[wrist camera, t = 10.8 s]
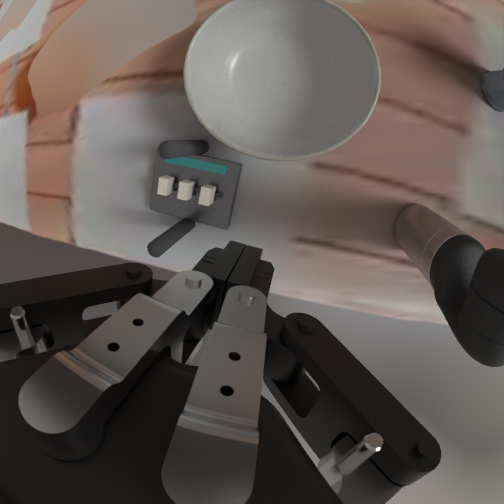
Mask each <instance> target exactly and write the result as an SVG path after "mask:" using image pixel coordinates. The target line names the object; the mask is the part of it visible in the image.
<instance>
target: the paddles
mask: <svg viewBox="0 0 504 504" xmlns="http://www.w3.org/2000/svg"><path fill="white" fill-rule="evenodd" d="M173 183H174V177H171V176H162V177H159V183H158V191H157V194H160V195H164V196H167V195H169V194H171V193H172V190H173ZM193 188H194V181H189V180H183V181H180V182H179V189H178V195H177V199H181V200H185V201H187V200H189V199H191V198H192V194H193ZM215 189H216V186H212V185H207V184H206V185H204V186H201V191H200V197H199V203H198V204H201V205H205V206H209V205H211V204H212V203H213V200H214V195H215Z"/></svg>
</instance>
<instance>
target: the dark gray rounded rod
mask: <svg viewBox="0 0 504 504" xmlns="http://www.w3.org/2000/svg"><path fill="white" fill-rule="evenodd" d="M208 149H209V145H208V143H207V142H206V141H205V140H172V141H164V142H162V143H161V144H160V146H159V149H158V152H159V155H160V156H161V157H162V158H163V159H172V158H178V157H185V156H191V155H198V154H204V153H206V152H207V151H208Z"/></svg>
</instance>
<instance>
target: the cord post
mask: <svg viewBox="0 0 504 504" xmlns="http://www.w3.org/2000/svg"><path fill="white" fill-rule="evenodd" d="M194 227H195V221H192V220H189V219H185V218H184V219H183V220H181V221H180V222H178V223H177V224H175V225H174V226H173V227H171V228H170V229H168V230H167V231H165V232H164V233H163V234H161V235H160V236H158V237H157V238H156V239H154V240H153V241H151V242H150V243H149V244H148V247H147V248H148V252H149V254H150V255H151V256H153V257H160V256H161V255H162V254H163V253H164V252H165V251H167V250H168V249H169V248H170V247H171V246H173V245H174V244H175V243H176V242H177V241H178V240H180V239H181V238H182V237H183V236H184V235H186V234H187V233H188V232H189V231H190V230H192V229H193V228H194Z"/></svg>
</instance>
